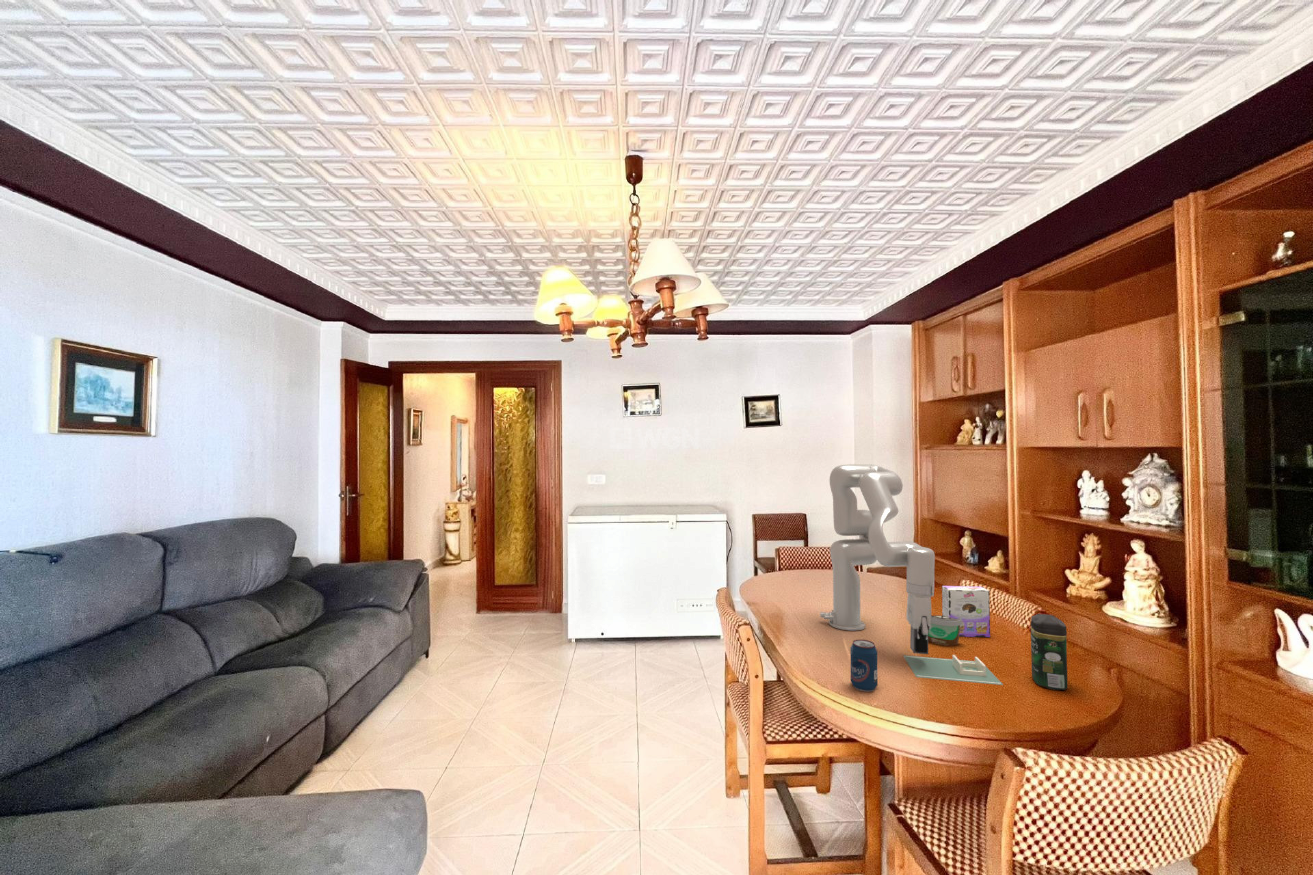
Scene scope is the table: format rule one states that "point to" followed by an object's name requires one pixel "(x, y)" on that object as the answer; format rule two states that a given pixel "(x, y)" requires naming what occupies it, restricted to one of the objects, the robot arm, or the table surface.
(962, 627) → the candy box
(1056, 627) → the coffee jar
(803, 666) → the table surface
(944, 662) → the board
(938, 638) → the food container
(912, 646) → the plug
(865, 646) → the soda can
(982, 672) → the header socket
